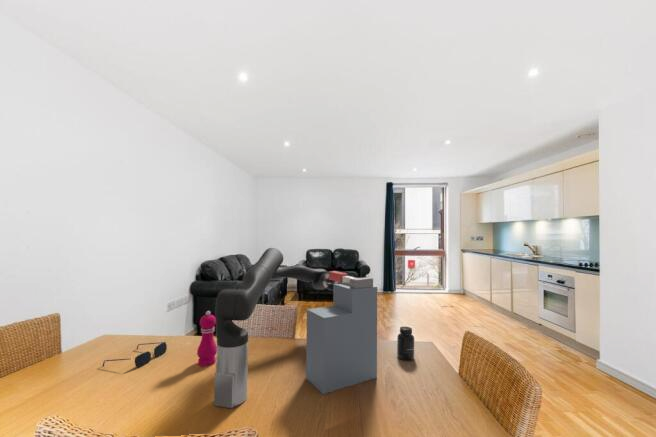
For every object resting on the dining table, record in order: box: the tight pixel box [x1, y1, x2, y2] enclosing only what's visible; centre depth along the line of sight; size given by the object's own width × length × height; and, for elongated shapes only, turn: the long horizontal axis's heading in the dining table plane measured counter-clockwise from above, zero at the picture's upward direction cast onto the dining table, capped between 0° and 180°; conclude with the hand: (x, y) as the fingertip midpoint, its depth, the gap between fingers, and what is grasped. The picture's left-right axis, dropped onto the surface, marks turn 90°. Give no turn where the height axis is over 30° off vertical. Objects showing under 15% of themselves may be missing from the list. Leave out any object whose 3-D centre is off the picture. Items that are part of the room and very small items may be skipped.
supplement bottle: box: [396, 326, 415, 361], centre depth 126 cm, size 7×7×12 cm
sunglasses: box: [102, 341, 168, 369], centre depth 122 cm, size 17×15×5 cm
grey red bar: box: [328, 270, 374, 289], centre depth 116 cm, size 22×8×3 cm, turn 31°
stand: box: [305, 283, 378, 395], centre depth 108 cm, size 12×22×32 cm, turn 121°
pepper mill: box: [196, 310, 217, 367], centre depth 119 cm, size 7×7×20 cm
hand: (350, 286), depth 126 cm, fingers open, 8 cm apart
